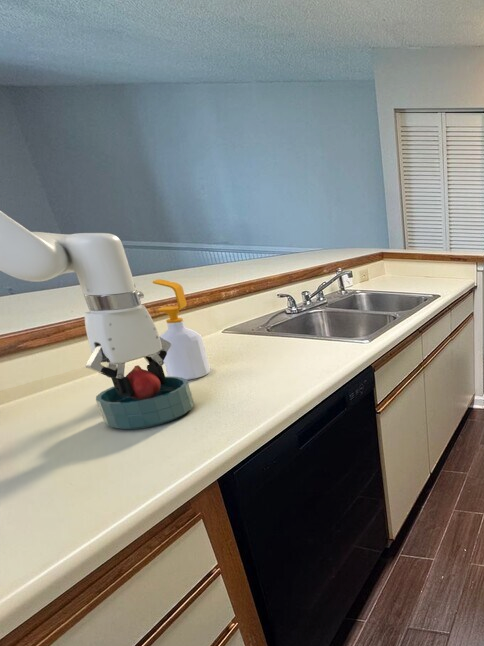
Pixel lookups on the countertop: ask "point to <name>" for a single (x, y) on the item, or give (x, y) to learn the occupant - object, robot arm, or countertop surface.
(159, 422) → the bowl
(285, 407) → the countertop surface
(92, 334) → the robot arm
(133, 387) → the onion
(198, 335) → the soap bottle
